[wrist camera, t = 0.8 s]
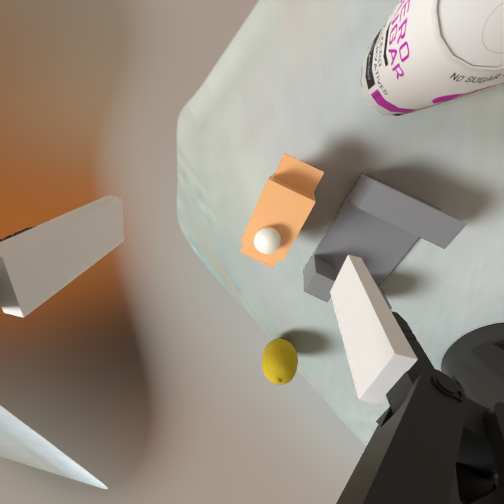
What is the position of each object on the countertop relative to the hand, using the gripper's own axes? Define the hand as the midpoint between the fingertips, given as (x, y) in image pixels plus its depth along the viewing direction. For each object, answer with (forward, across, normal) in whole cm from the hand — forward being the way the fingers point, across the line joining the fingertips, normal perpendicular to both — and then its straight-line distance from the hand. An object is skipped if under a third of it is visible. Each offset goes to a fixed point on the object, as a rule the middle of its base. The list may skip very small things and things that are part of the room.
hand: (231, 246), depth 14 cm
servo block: (+20, -4, +3) cm, 20 cm away
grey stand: (+18, -16, +5) cm, 24 cm away
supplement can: (+20, -12, -14) cm, 27 cm away
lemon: (+17, -10, +26) cm, 32 cm away
